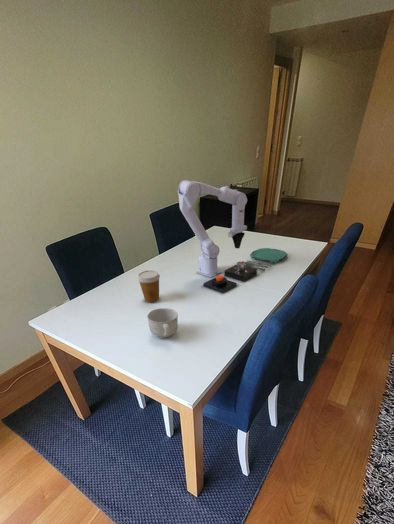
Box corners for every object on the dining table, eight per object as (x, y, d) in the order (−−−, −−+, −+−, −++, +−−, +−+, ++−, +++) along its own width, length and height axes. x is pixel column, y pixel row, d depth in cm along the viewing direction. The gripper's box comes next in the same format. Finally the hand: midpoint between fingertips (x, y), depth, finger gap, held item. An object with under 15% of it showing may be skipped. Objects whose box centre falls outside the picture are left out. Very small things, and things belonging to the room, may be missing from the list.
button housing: (203, 286, 139) (203, 279, 137) (217, 279, 144) (217, 272, 142) (222, 293, 132) (222, 286, 130) (236, 286, 137) (236, 279, 135)
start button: (214, 280, 136) (214, 276, 135) (219, 277, 138) (219, 274, 137) (220, 282, 134) (220, 278, 133) (225, 279, 136) (225, 276, 135)
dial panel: (224, 276, 147) (224, 270, 146) (237, 269, 153) (237, 263, 152) (243, 282, 141) (243, 276, 139) (256, 274, 147) (257, 268, 145)
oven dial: (241, 271, 143) (241, 264, 141) (235, 269, 145) (235, 262, 143) (246, 269, 145) (246, 262, 143) (239, 267, 147) (240, 260, 145)
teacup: (151, 326, 113) (147, 308, 108) (178, 323, 113) (177, 305, 108) (149, 347, 102) (145, 328, 97) (180, 345, 102) (178, 325, 97)
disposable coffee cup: (166, 295, 133) (163, 270, 126) (157, 305, 126) (153, 279, 119) (147, 293, 136) (143, 269, 128) (137, 303, 129) (132, 277, 121)
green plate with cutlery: (292, 255, 165) (293, 251, 164) (267, 273, 147) (267, 269, 146) (261, 249, 176) (261, 245, 174) (234, 265, 158) (234, 261, 156)
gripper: (238, 215, 147) (237, 242, 156) (222, 222, 139) (222, 250, 147) (251, 216, 144) (249, 244, 152) (235, 224, 135) (234, 253, 143)
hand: (237, 247), depth 149 cm, fingers closed
